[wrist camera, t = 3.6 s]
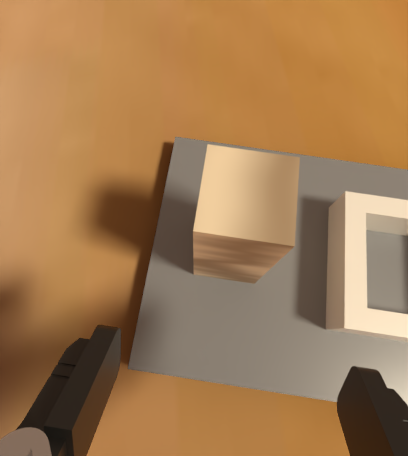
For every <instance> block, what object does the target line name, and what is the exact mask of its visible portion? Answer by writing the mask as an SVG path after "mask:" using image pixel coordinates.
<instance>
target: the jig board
mask: <svg viewBox="0 0 408 456" xmlns="http://www.w3.org/2000/svg"><path fill="white" fill-rule="evenodd" d="M208 144H210V145H217V146H224V147H231V148H238V149H245V150H252V151H259V152H266V153H273V154H280V155H287V156H294V157H300V163H299V180H298V197H297V214H296V231H295V246H294V247H293V248H292V249H291V250H290V251H289V252H288V253H287V254H286V255H285V256H284V257H283V258H281V259H280V260H279V261H278V262H277V263H276V264H275V265H274V266H273V267H272V268H271V269H270V270H269V271H267V272H266V273H265V274H264V275H263V276H262V277H261V278H260V279H259V280H258V281H257V282H256V283H255V284H252V283H246V282H239V281H232V280H226V279H219V278H213V277H206V276H199V275H194V263H193V229H194V223H195V217H196V211H197V205H198V199H199V193H200V187H201V181H202V175H203V169H204V163H205V157H206V151H207V145H208ZM352 366H357V367H364V368H370V369H376V370H378V371H379V372H380V374H381V376H382V378H383V380H384V382H385V384H386V386H387V388H390V389H394V390H395V391H396V392H397V393H398V394H399V396H400V397H401V398H402V399H403V400H404V401H405V402H406V404H407V405H408V170H405V169H398V168H391V167H384V166H377V165H370V164H363V163H356V162H349V161H342V160H335V159H328V158H321V157H314V156H307V155H300V154H293V153H286V152H279V151H272V150H265V149H258V148H251V147H244V146H237V145H230V144H223V143H216V142H209V141H202V140H195V139H188V138H181V137H175V141H174V146H173V151H172V156H171V161H170V166H169V171H168V175H167V180H166V185H165V190H164V195H163V200H162V205H161V209H160V214H159V219H158V224H157V229H156V234H155V239H154V244H153V248H152V253H151V258H150V263H149V268H148V273H147V278H146V282H145V287H144V292H143V297H142V302H141V307H140V312H139V316H138V321H137V326H136V331H135V336H134V341H133V346H132V350H131V355H130V360H129V365H128V369H132V370H138V371H144V372H151V373H157V374H163V375H169V376H176V377H182V378H188V379H195V380H201V381H207V382H214V383H220V384H226V385H233V386H239V387H245V388H251V389H258V390H264V391H270V392H277V393H283V394H289V395H296V396H302V397H308V398H315V399H321V400H327V401H333V402H337V398H338V394H339V392H340V390H341V388H342V385H343V383H344V381H345V379H346V377H347V375H348V372H349V370H350V368H351V367H352Z"/></svg>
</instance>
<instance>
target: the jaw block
mask: <svg viewBox="0 0 408 456" xmlns="http://www.w3.org/2000/svg"><path fill="white" fill-rule="evenodd" d="M299 163H300V157H294V156H287V155H280V154H273V153H266V152H259V151H252V150H245V149H238V148H231V147H224V146H217V145H210V144H208V145H207V151H206V157H205V163H204V169H203V175H202V181H201V187H200V193H199V199H198V205H197V211H196V217H195V223H194V229H193V263H194V275H199V276H206V277H213V278H219V279H226V280H232V281H239V282H246V283H252V284H255V283H256V282H257V281H258V280H259V279H260V278H261V277H262V276H263V275H264V274H265V273H266V272H267V271H269V270H270V269H271V268H272V267H273V266H274V265H275V264H276V263H277V262H278V261H279V260H280V259H281V258H283V257H284V256H285V255H286V254H287V253H288V252H289V251H290V250H291V249H292V248H293V247H294V246H295V231H296V214H297V197H298V180H299Z"/></svg>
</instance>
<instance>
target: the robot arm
mask: <svg viewBox="0 0 408 456" xmlns="http://www.w3.org/2000/svg"><path fill="white" fill-rule="evenodd" d="M120 357H121V329H120V328H117V327H111V326H104V325H98V326H97V327H96V329H95V331H94V333H93V335H92V336H91V338H90V340H89V339H83V338H79V339H78V340H77V341H75V342H74V343H73V344H72V345H70V346H69V347H68V348H67V349H66V350H65V352H64V354H63V355H62V357H61V359H60V360H59V362H58V365H56V367H55V369H54V370H53V372H52V374H51V377H49V379H48V380H47V382H46V384H45V385H44V387H43V389H42V390H41V392H40V393H39V395H38V397H37V398H36V400H35V402H34V403H33V405H32V407H31V408H30V410H29V412H28V413H27V415H26V417H25V418H24V420H23V421H22V423H21V424H20V426H19V427H18V428H17V429H16V430H15V431H13V432H11V433H9V434H7V435H6V436H4V437H3V438H2V439H1V440H0V456H86V455H87V453H88V450H89V447H90V445H91V442H92V440H93V437H94V434H95V432H96V429H97V427H98V424H99V421H100V419H101V416H102V414H103V411H104V408H105V406H106V403H107V401H108V398H109V395H110V393H111V390H112V388H113V385H114V382H115V380H116V377H117V374H118V370H119V366H120ZM337 412H338V416H339V419H340V423H341V426H342V430H343V433H344V436H345V440H346V443H347V446H348V450H349V453H350V456H408V405H407V404H406V402H405V401H404V400H403V399H402V398H401V397H400V396H399V394H398V393H397V392H396V391H395V390H394V389H390V388H387V386H386V384H385V382H384V380H383V378H382V376H381V374H380V372H379V371H378V370H376V369H370V368H364V367H357V366H352V367H351V368H350V370H349V372H348V375H347V377H346V379H345V381H344V383H343V385H342V388H341V390H340V392H339V394H338V398H337Z"/></svg>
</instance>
